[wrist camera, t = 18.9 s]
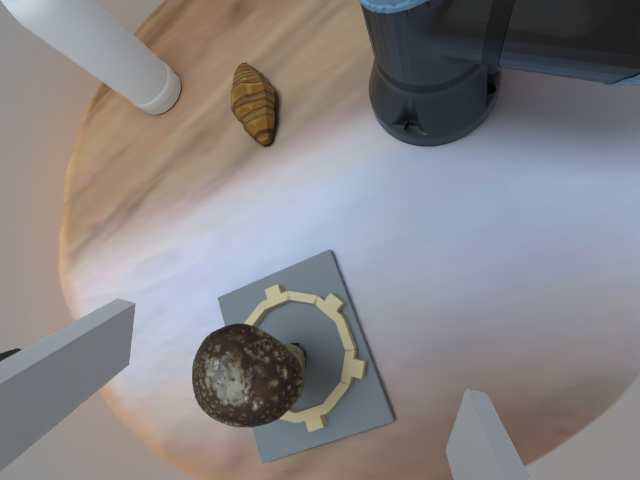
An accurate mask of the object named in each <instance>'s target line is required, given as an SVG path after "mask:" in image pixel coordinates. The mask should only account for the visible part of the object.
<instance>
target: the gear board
mask: <svg viewBox="0 0 640 480" xmlns="http://www.w3.org/2000/svg"><path fill="white" fill-rule="evenodd" d="M218 301H219V304H220V308H221V312H222V315H223V319H224V323H225V326H228V325H231V324H235V323H242V324H248V325H251V326H254V327H257V328H259V329H261V330H263V331H264V332H266V333H268V334H270V335H272V336H273V337H275V338H276V339H278V340H279V341H280V342H282V343H283V344H290V343H300V344H299V346H300V347H301V348H302V349H303V350H304V351H305V352H306V355H307V356H306V367H305V368H304V371H303V373H304V379H305V382H304V389H303V392H302V395H301V396H300V398H299V399H298V401H297V402H296V403H295V404H294V405H293V406H292V407H291V408H290V409H289V410H288V411H287V412H286V413H285V414H284V415H283V416H282V417H280V418H279V419H278V420H275V421H273V422H271V423H268V424H265V425H261V426H256V427H253V431H254V435H255V439H256V442H257V446H258V450H259V454H260V457H261V461H262V463H265V462H268V461H272V460H275V459H278V458H281V457H284V456H287V455H290V454H293V453H297V452H300V451H303V450H306V449H309V448H312V447H315V446H319V445H322V444H325V443H328V442H331V441H334V440H337V439H340V438H344V437H347V436H350V435H353V434H356V433H359V432H362V431H365V430H369V429H372V428H375V427H378V426H381V425H384V424H387V423H390V422H394V420H395V417H394V414H393V412H392V409H391V406H390V404H389V401H388V398H387V396H386V393H385V390H384V388H383V385H382V382H381V380H380V377H379V374H378V372H377V369H376V366H375V364H374V361H373V358H372V356H371V353H370V350H369V348H368V345H367V342H366V340H365V337H364V334H363V332H362V329H361V326H360V324H359V321H358V318H357V316H356V313H355V310H354V308H353V305H352V302H351V300H350V297H349V294H348V292H347V289H346V286H345V284H344V281H343V278H342V276H341V273H340V270H339V268H338V265H337V262H336V260H335V257H334V254H333V252H332V251H331V250H327V251H325V252H323V253H320V254H318V255H316V256H313V257H311V258H309V259H307V260H304V261H302V262H300V263H297V264H295V265H293V266H290V267H288V268H286V269H283V270H281V271H279V272H276V273H274V274H272V275H269V276H267V277H265V278H263V279H260V280H258V281H256V282H253V283H251V284H249V285H246V286H244V287H242V288H239V289H237V290H235V291H232V292H230V293H228V294H225V295H223V296H221V297H218Z"/></svg>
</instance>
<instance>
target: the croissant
mask: <svg viewBox="0 0 640 480" xmlns="http://www.w3.org/2000/svg"><path fill="white" fill-rule="evenodd" d="M274 105H275V93H274V88H273V86H272V85H271V83H270V82H269V81H268V80H266V79H264V77H263V74H262V73H261V72H259V71H258V70H256V69H255V68H253V67H252V66H250V65H248V64H247V63H242V64H240V65H239V66H238V68H237V70H236V71H235V74H234V79H233V87H232V90H231V110H232V112H233V113H234V115H235V116H236V118H237V119H238V120H239V121H240V122H241V123H242V124H243V126H244V129H245V131H246V132H247V133H248V134H249V135H250V136H251V137H252V138H253V139H255V140H256V141H257V142H258V143H260V144H261V145H263V146H267V145H269V144H271V143H272V141H273V134H274V123H275V112H274Z"/></svg>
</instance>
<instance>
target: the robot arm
mask: <svg viewBox="0 0 640 480" xmlns="http://www.w3.org/2000/svg"><path fill="white" fill-rule="evenodd" d="M359 1H360V3H361V7H362V11H363V15H364V18H365V22H366V26H367V30H368V34H369V37H370V41H371V45H372V49H373V53H374V56H375V59H374V63H373V67H372V72H371V76H370V82H369V95H370V101H371V104H372V107H373V111H374V114H375V116H376V118H377V120H378V122H379V123H380V124H381V126H382V127H383V128H384V129H385V130H386V131H387V132H388V133H389V134H391V135H392V136H393V137H395V138H397V139H399V140H401V141H403V142H406V143H409V144H414V145H420V146H433V145H441V144H445V143H449V142H452V141H455V140H457V139H459V138H461V137H463V136H465V135H467V134H468V133H470V132H471V131H473V130H474V129H475V128H476V127H478V126H479V125H480V124H481V123H482V122H483V121H484V119H485V118H486V117H487V116H488V114H489V113H490V111H491V110H492V108H493V106H494V104H495V101H496V98H497V95H498V91H499V87H500V83H501V67H502V68H509V69H515V70H522V71H529V72H536V73H542V74H549V75H556V76H562V77H569V78H576V79H582V80H589V81H596V82H602V83H604V84H606V85H615V86H617V85H625V84H631V85H640V0H359ZM134 313H135V303H133V302H129V301H125V300H121V299H116V300H114V301H112V302H110V303H108V304H107V305H105V306H103V307H101V308H99V309H97V310H95V311H94V312H92V313H90V314H88V315H86V316H84V317H82V318H80V319H79V320H77V321H75V322H73V323H71V324H70V325H67V326H66V327H64V328H62V329H60V330H58V331H56V332H54V333H53V334H51V335H49V336H47V337H45V338H43V339H42V340H39V341H38V342H36V343H34V344H32V345H30V346H28V347H26V348H25V349H23V350H21V349H18V348H17V349H14V350H10V351H7V352H4V353H1V354H0V472H1V471H2V470H3V469H4V468H6V467H7V466H8V465H9V464H10V463H12V461H14V460H15V459H16V458H18V457H19V456H20V455H21V454H22V453H23V452H25V451H26V450H27V449H28V448H29V447H31V446H32V445H33V444H34V443H35V442H37V441H38V440H39V439H40V438H41V437H43V436H44V435H45V434H46V433H47V432H49V431H50V430H51V429H52V428H53V427H55V426H56V425H57V424H58V423H59V422H61V421H62V420H63V419H64V418H65V417H66V416H68V415H69V414H70V413H71V412H73V411H74V410H75V409H76V408H77V407H78V406H80V405H81V404H82V403H83V402H84V401H86V400H87V399H88V398H89V397H90V396H92V395H93V394H94V393H95V392H96V391H98V390H99V389H100V388H101V387H102V386H104V385H105V384H106V383H107V382H108V381H110V380H111V379H112V378H113V377H114V376H116V375H117V374H118V373H119V372H120V371H122V370H123V369H124V368H125V367H126V366H128V365H129V359H130V350H131V341H132V331H133V322H134ZM446 454H447V458H448V461H449V465H450V469H451V473H452V476H453V480H531V479H530V477H529V475H528V473H527V471H526V469H525V467H524V465H523V463H522V461H521V459H520V457H519V455H518V453H517V451H516V449H515V447H514V445H513V443H512V441H511V439H510V438H509V436H508V434H507V432H506V430H505V428H504V426H503V424H502V422H501V420H500V418H499V416H498V414H497V412H496V410H495V408H494V406H493V404H492V402H491V400H490V398H489V396H488V395H487V393H483V392H479V391H476V390H472V389H468V388H466V390H465V393H464V396H463V399H462V402H461V405H460V408H459V411H458V414H457V417H456V420H455V423H454V426H453V429H452V432H451V435H450V438H449V441H448V444H447V447H446Z"/></svg>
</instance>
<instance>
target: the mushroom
mask: <svg viewBox="0 0 640 480" xmlns="http://www.w3.org/2000/svg"><path fill="white" fill-rule="evenodd" d="M299 344H300V343H290V344H283V343H282V342H280V341H279V340H278V339H276V338H275V337H273V336H272V335H270V334H268V333H266V332H264V331H263V330H261V329H259V328H257V327H254V326H251V325H248V324H242V323H235V324H231V325H228V326H225V327H223V328H221V329H218V330H216V331H214V332H212V333H210V335H208V336H207V337H206V338H205V340H204V341H203V342H202V344H201V346H200V348H199V349H198V351H197V354H196V356H195V359H194V362H193V370H192V383H193V389H194V393H195V398H196V400H197V402H198V404H199V406H200V407H201V408H202V410H203V411H204V412H206V413H207V414H208V415H209V416H210V417H212V418H213V419H214V420H217V421H219V422H221V423H224V424H227V425H229V426H235V427H256V426H261V425H265V424H268V423H271V422H273V421H275V420H278V419H279V418H280V417H282V416H283V415H284V414H285V413H286V412H287V411H288V410H289V409H290V408H291V407H292V406H293V405H294V404H295V403H296V402H297V401H298V399H299V398H300V396H301V395H302V392H303V389H304V382H305V379H304V373H303V371H304V368H305V367H306V356H307V355H306V352H305V351H304V350H303V349H302V348H301V347H300V346H299Z"/></svg>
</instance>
